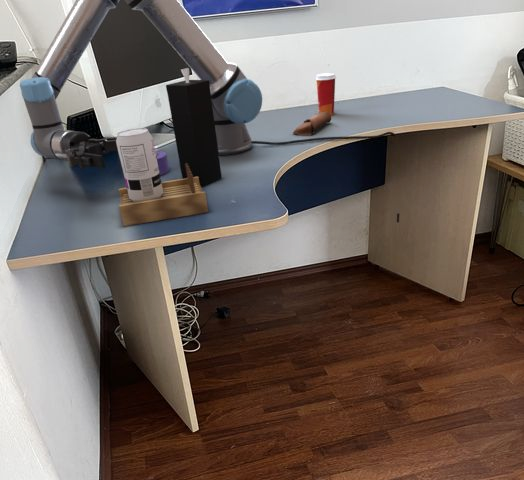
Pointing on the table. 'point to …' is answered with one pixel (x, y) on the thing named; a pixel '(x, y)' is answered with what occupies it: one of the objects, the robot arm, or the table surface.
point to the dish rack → (166, 202)
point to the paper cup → (326, 92)
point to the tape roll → (162, 162)
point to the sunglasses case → (313, 124)
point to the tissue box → (194, 128)
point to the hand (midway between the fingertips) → (126, 154)
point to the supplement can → (139, 164)
